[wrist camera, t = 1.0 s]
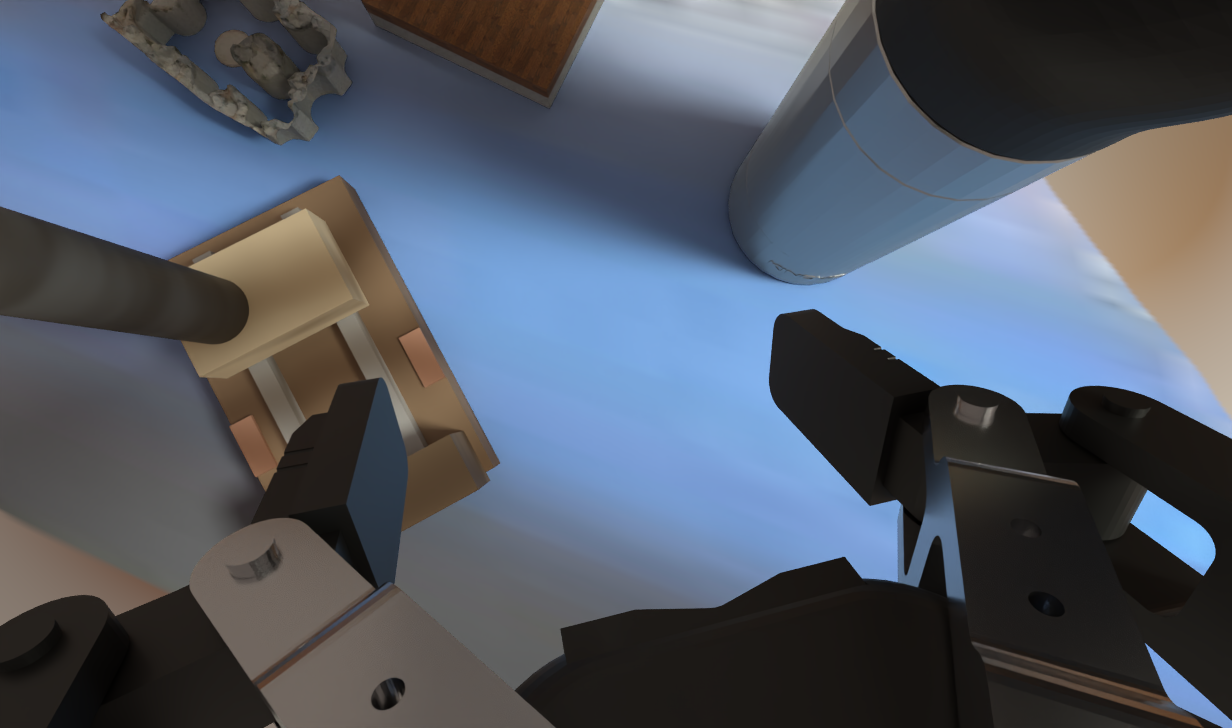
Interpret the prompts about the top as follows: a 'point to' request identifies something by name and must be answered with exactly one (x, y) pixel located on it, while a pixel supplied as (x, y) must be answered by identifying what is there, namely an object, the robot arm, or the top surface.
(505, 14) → the display case
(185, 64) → the egg carton
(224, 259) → the knob-topped lever
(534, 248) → the top surface
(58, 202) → the top surface
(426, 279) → the top surface
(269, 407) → the press base
